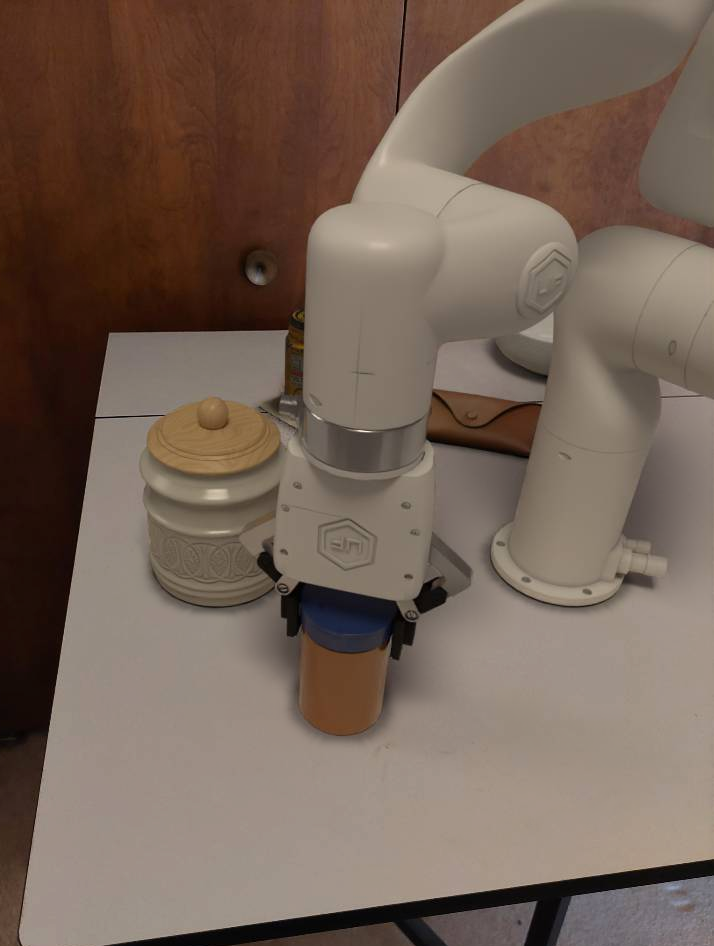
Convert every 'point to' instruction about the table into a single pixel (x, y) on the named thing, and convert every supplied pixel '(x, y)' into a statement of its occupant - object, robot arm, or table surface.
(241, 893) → the table surface
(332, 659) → the jam jar
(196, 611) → the table surface
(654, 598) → the table surface
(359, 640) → the lid
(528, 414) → the sunglasses case
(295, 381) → the condiment
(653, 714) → the table surface
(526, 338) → the cereal bowl
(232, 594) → the jar
